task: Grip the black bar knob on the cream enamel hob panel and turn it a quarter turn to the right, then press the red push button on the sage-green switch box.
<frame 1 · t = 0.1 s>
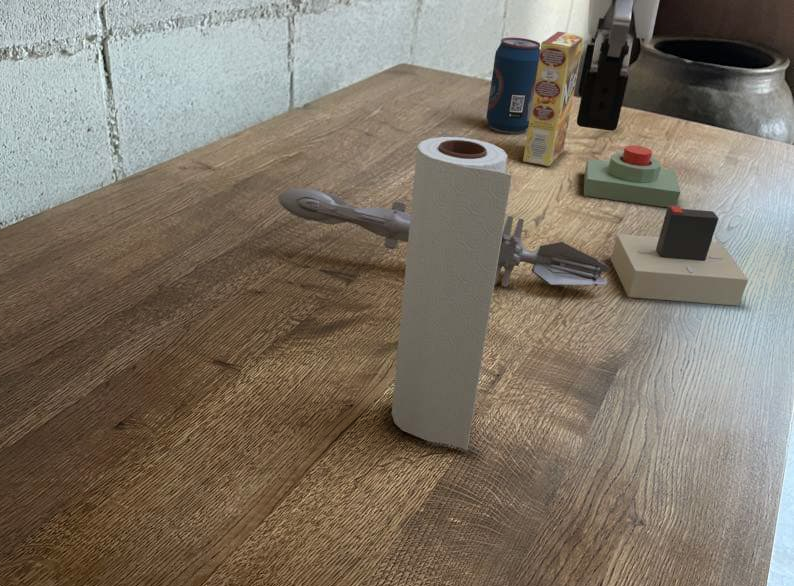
hand: (595, 111, 77), 20 cm above the table, tool pointing down, fingers open, 9 cm apart
hob knob: (686, 233, 97), point 5 cm above the table, hinge at 0.0°
hob panel: (672, 281, 101), on the table
red push button: (636, 156, 121), point 4 cm above the table, slide at 0.1 cm
candy box: (542, 158, 132), on the table
paper towel roll: (428, 426, 74), on the table
switch box: (628, 191, 123), on the table
spaceship: (439, 275, 98), on the table
soda can: (507, 129, 142), on the table
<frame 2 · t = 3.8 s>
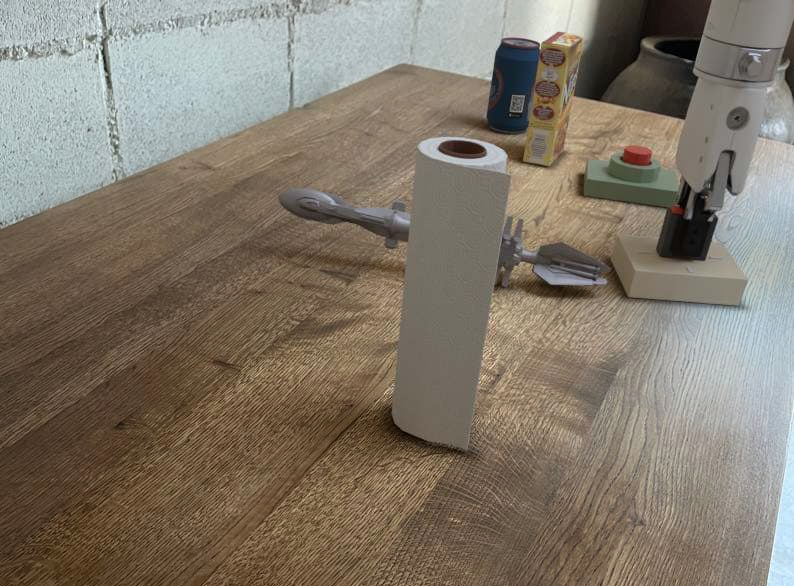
hand: (682, 248, 98), 4 cm above the table, tool pointing down, fingers closed on hob knob, 2 cm apart
hob knob: (686, 233, 97), point 5 cm above the table, hinge at -1.1°, touching gripper
everything else where it was.
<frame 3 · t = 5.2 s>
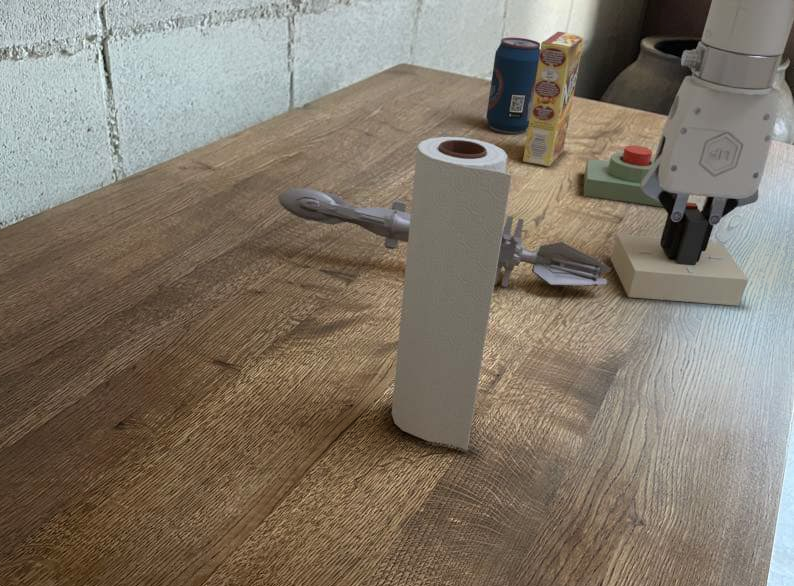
hand: (680, 254, 99), 3 cm above the table, tool pointing down, fingers closed on hob knob, 2 cm apart
hob knob: (686, 233, 97), point 5 cm above the table, hinge at -89.6°, touching gripper
everything else where it was.
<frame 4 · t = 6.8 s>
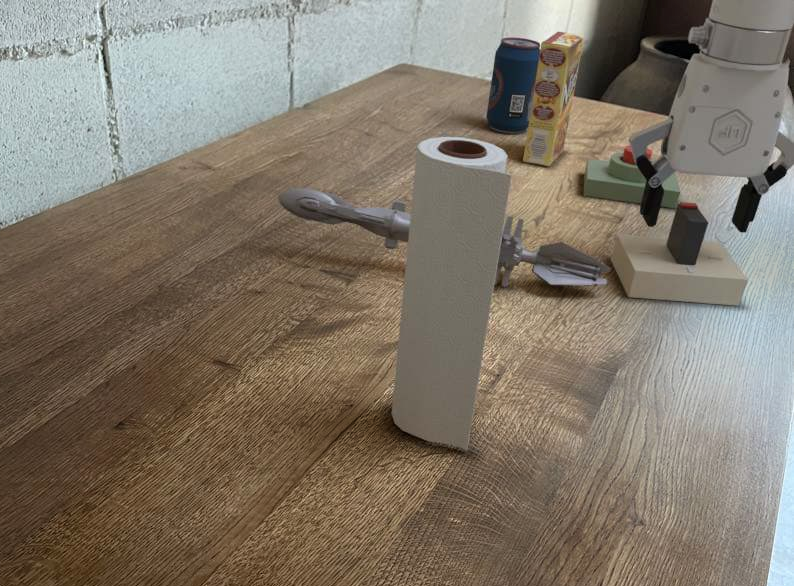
hand: (693, 224, 97), 6 cm above the table, tool pointing down, fingers open, 9 cm apart
hob knob: (686, 233, 97), point 5 cm above the table, hinge at -89.9°
everything else where it was.
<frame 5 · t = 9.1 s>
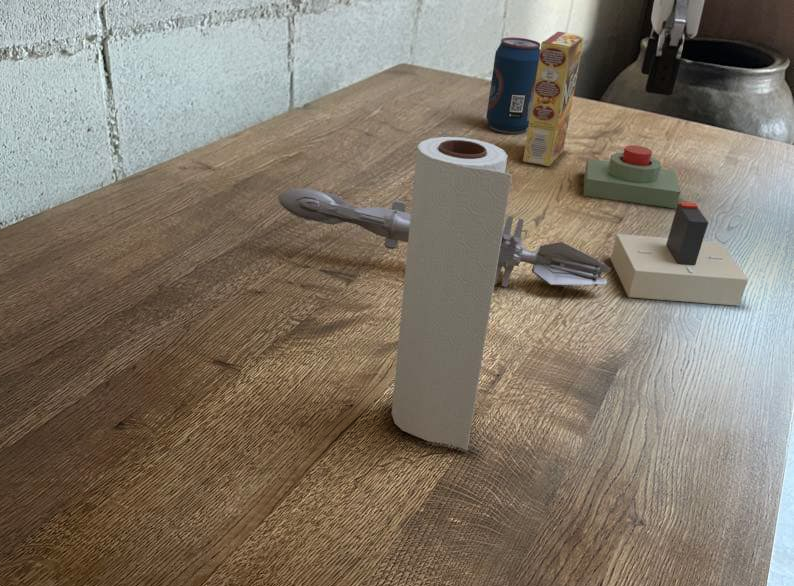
hand: (655, 83, 114), 13 cm above the table, tool pointing down, fingers open, 9 cm apart
nothing on the table moved.
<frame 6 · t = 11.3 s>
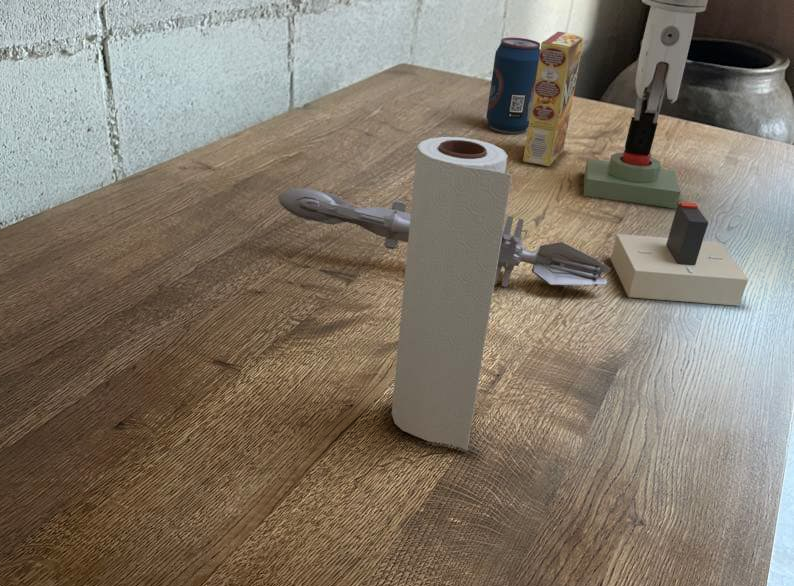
hand: (636, 152, 120), 5 cm above the table, tool pointing down, fingers closed
red push button: (636, 159, 121), point 4 cm above the table, slide at -0.3 cm, touching gripper
everything else where it was.
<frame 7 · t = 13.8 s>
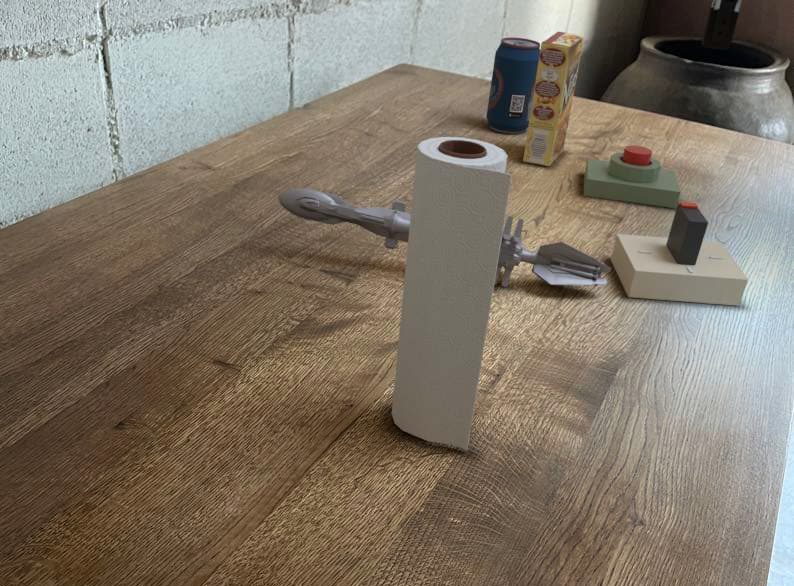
hand: (714, 47, 110), 18 cm above the table, tool pointing down, fingers closed
red push button: (636, 156, 121), point 4 cm above the table, slide at 0.1 cm
everything else where it was.
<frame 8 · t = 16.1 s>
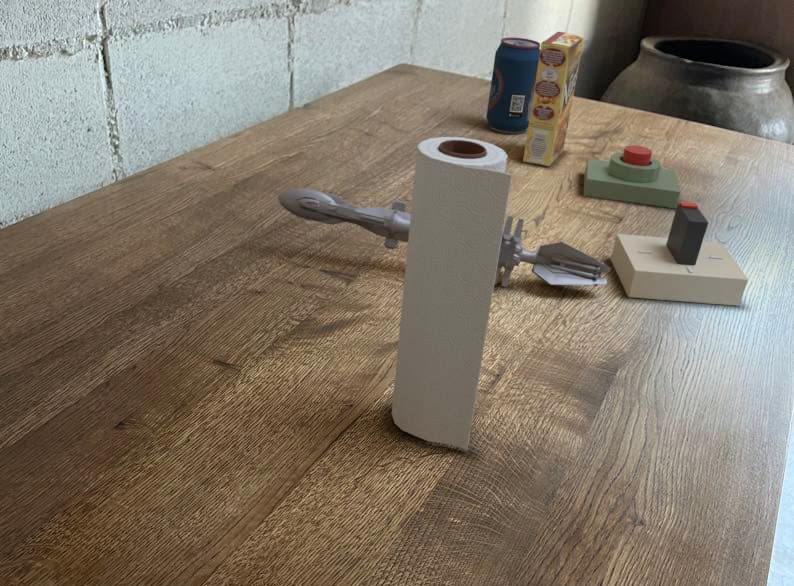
nothing on the table moved.
at the end: hob knob at -90° (first picture: +0°); red push button pushed in 1.1 cm at the most during the clip, back to where it started at the end; red push button slide at 0.1 cm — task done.
